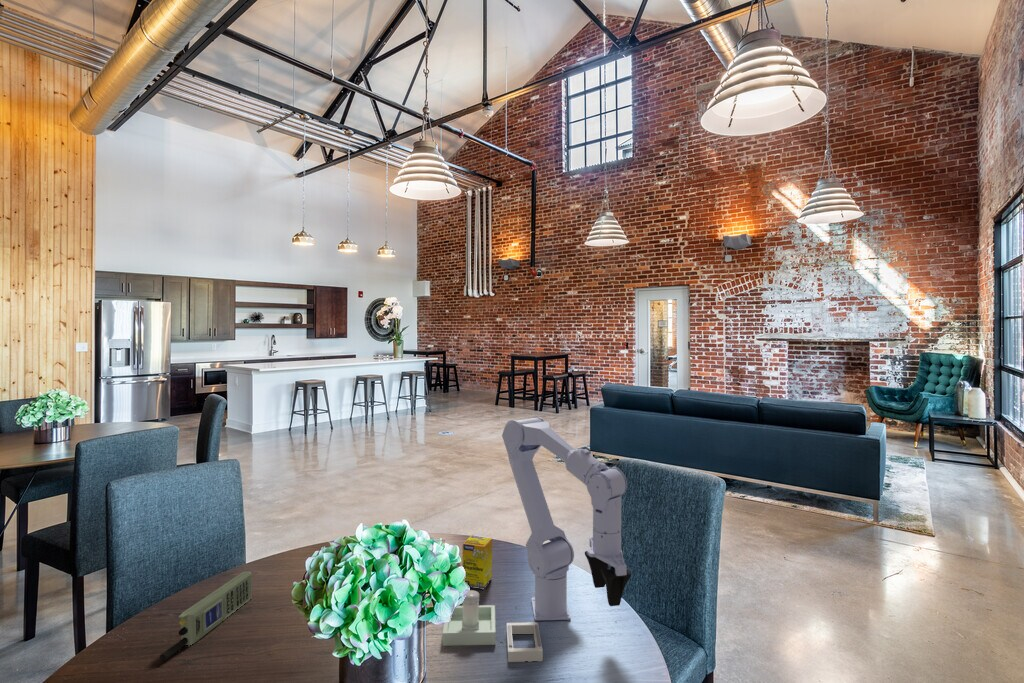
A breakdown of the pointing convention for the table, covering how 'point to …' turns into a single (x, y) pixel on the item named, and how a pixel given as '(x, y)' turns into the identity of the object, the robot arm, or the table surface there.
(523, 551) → the table surface
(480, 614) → the parts tray
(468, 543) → the supplement box
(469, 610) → the cylinder
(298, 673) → the table surface
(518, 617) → the table surface
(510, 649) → the holder
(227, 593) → the handheld radio
